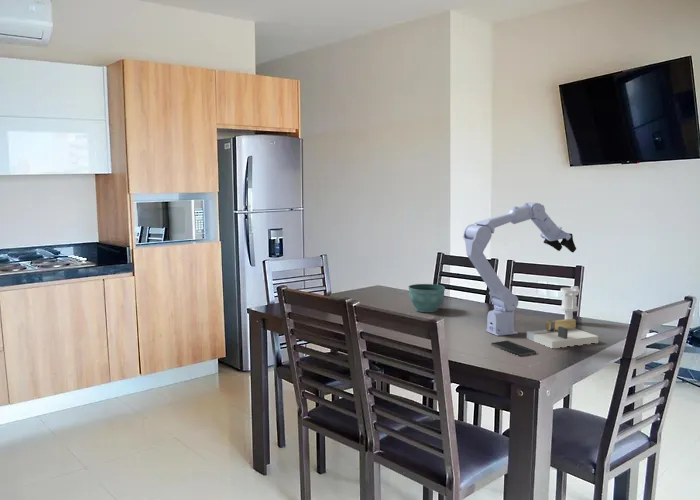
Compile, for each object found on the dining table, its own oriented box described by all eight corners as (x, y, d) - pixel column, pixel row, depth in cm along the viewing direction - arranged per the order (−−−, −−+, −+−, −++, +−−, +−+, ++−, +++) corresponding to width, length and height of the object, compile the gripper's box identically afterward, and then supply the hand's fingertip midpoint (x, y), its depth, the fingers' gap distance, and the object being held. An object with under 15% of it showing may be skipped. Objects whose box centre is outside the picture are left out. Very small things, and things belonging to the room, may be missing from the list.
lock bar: (549, 331, 209) (550, 322, 209) (544, 329, 212) (545, 321, 211) (576, 328, 213) (576, 320, 213) (570, 326, 216) (571, 318, 215)
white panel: (552, 348, 197) (552, 331, 196) (526, 338, 210) (527, 322, 209) (598, 343, 204) (599, 326, 203) (570, 333, 217) (571, 317, 216)
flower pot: (413, 305, 266) (413, 282, 265) (447, 308, 261) (448, 284, 259) (403, 312, 252) (404, 288, 250) (440, 316, 246) (440, 291, 244)
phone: (519, 354, 188) (490, 343, 201) (519, 357, 188) (489, 346, 201) (537, 351, 191) (507, 340, 205) (537, 354, 191) (507, 343, 205)
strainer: (581, 324, 231) (582, 287, 229) (564, 325, 230) (566, 288, 228) (571, 320, 238) (573, 284, 236) (555, 320, 237) (557, 285, 235)
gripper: (566, 219, 213) (586, 243, 218) (540, 218, 227) (560, 241, 231) (555, 233, 212) (576, 257, 216) (530, 231, 226) (550, 254, 230)
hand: (567, 249), depth 224 cm, fingers open, 7 cm apart
